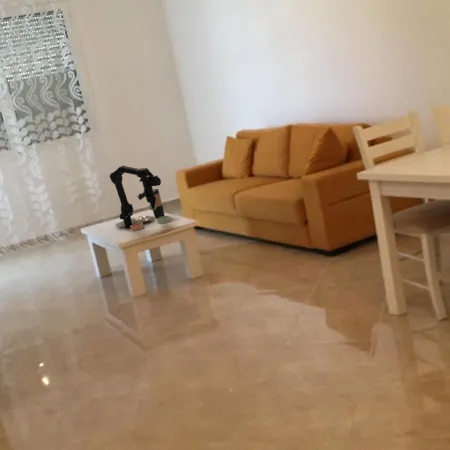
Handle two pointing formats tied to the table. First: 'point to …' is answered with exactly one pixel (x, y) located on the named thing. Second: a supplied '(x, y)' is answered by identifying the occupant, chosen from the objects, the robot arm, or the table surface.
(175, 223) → the table surface
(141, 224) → the terracotta cup
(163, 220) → the green cup
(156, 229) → the table surface
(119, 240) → the table surface
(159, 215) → the travel mug
